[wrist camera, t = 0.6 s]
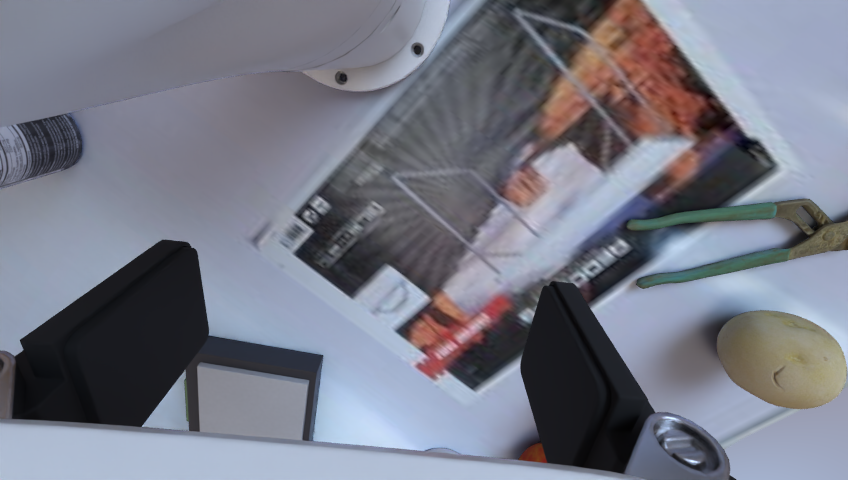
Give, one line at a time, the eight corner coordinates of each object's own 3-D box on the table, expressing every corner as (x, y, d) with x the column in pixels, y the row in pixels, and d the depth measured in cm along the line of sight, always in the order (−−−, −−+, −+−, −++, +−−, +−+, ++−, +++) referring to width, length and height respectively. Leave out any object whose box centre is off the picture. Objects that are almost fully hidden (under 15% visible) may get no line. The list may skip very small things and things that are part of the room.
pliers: (623, 286, 35) (630, 294, 33) (623, 218, 32) (630, 224, 31) (864, 247, 33) (881, 254, 32) (886, 172, 30) (904, 177, 29)
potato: (789, 282, 34) (886, 342, 27) (781, 352, 37) (866, 423, 30) (697, 302, 35) (768, 364, 28) (697, 368, 38) (760, 440, 31)
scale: (193, 332, 37) (174, 354, 35) (323, 355, 38) (315, 377, 36) (197, 433, 43) (182, 458, 40) (311, 451, 44) (303, 476, 41)
